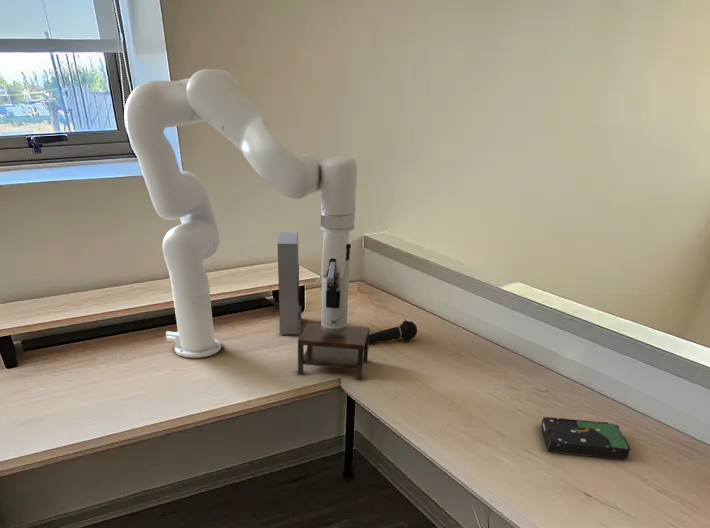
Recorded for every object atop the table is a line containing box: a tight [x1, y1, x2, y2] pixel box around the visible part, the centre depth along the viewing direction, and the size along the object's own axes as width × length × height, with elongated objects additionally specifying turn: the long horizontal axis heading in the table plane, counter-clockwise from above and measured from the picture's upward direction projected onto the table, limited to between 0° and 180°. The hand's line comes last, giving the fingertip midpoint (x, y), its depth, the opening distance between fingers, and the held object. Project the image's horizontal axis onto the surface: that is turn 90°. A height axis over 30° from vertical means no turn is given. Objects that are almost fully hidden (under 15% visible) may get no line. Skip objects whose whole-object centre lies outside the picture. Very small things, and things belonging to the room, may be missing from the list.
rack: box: [297, 322, 370, 381], centre depth 140 cm, size 16×12×9 cm
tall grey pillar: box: [277, 231, 302, 336], centre depth 159 cm, size 14×6×25 cm, turn 179°
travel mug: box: [320, 243, 352, 333], centre depth 131 cm, size 6×7×20 cm
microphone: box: [368, 320, 418, 345], centre depth 155 cm, size 6×6×20 cm
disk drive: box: [540, 416, 632, 460], centre depth 112 cm, size 10×3×15 cm
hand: (335, 302), depth 133 cm, fingers closed on travel mug, 6 cm apart
